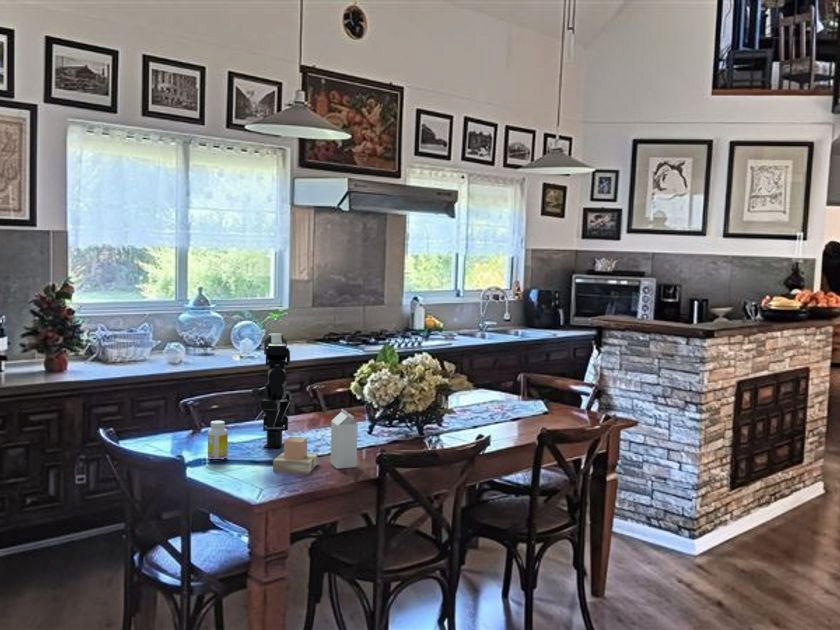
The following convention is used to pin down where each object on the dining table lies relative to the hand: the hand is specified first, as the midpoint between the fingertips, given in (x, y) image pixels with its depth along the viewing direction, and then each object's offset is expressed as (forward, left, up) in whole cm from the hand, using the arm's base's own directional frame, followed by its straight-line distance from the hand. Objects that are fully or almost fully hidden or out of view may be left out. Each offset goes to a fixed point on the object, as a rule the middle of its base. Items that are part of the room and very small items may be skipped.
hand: (275, 424), depth 283 cm
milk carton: (+3, +25, -12) cm, 28 cm away
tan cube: (+9, +10, -8) cm, 16 cm away
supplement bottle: (+5, -19, -12) cm, 23 cm away
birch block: (+9, +10, -12) cm, 18 cm away
